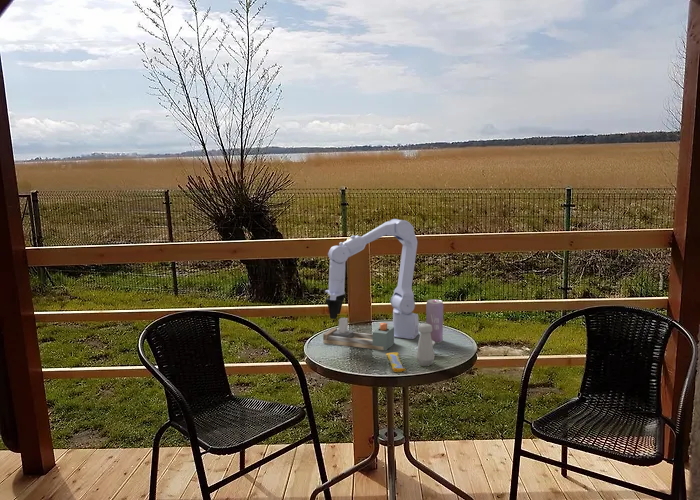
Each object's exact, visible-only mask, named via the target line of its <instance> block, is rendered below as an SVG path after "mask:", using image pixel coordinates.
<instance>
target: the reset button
mask: <svg viewBox="0 0 700 500" xmlns="http://www.w3.org/2000/svg"><path fill="white" fill-rule="evenodd" d="M387 326H388V323H387V322H380V323H379V327H380V331H387Z"/></svg>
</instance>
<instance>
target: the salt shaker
mask: <svg viewBox="0 0 700 500" xmlns="http://www.w3.org/2000/svg"><path fill="white" fill-rule="evenodd" d="M430 332H432V326H431V325H430V324H426V323H421V324H420V323H419V338H418V341H419V343H418V342H417V343H418V344H417V349H416V355H415V357H416V360H417V362H418V365H419V366H421V365H422V366H421V367H429V366H428V365H431V366H432V363H433V362H434V360H435V355H434V352H435V351H434V345H432V340H431V334H430Z"/></svg>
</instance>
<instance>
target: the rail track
mask: <svg viewBox="0 0 700 500" xmlns="http://www.w3.org/2000/svg"><path fill="white" fill-rule="evenodd" d="M337 330H338V328H336V327H333V328H331V329H329V330H328V331H327V332H324V333H323V335H322V337H323V338H322V339H323V341H322V342H323V344H328V345H338V346H346V347H353V348H354V347H355V348H363V349H371V350H378V349H379V351H384V350H383V347H381V346H377V347H376V346H373V333H364V332H355V331H354V336H353V337H352V338H348V337H339V336H333V333H334V332H335V331H337ZM373 348H374V349H373ZM380 349H381V350H380Z"/></svg>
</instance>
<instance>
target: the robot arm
mask: <svg viewBox="0 0 700 500" xmlns="http://www.w3.org/2000/svg"><path fill="white" fill-rule="evenodd" d="M414 228H415V227H414V226H413V224H412V223H410V222H409V221H408V220H404V219H398V218H392V219H390V220H388V221H385V222H383V223H382V224H380V225H378V226H377V227H375V228H374V229H373V228H372V229H371V230H370V231H368V232H367V233H365V234H363V235H362V236H360V235H354V234H353V235H351V236H350V238H349V239H347V240H345V241H343V242H342V241H340V242H339V244H338V245H333V246H331V247H330V249H329V250H328V252H327V256H328V258H329V267H328V268H329V273H328V289H326V290H324V293H326V294H328V295H329V297H328V298H325V302H326V304H327V307H328V312H329V313H328V314H329V319H333V320H336V319H337V318H338V315H340V314H341V312H342V306H343V303H344V300H345V298H346V296H347V294H346V292H345V280H346V262H347V260H348V259H349V258H350V257H352V256H354V255H356V254H358V253H360V252H361V251H363V250H364V249H365V247H366V245H367V244H369V243H372V242H374V241H376V240H378V239H381V238H382V237H384V236H389V237H391V236H393V237H395V238H396V239H397V240H398V242H399V243H401V245H402V249H401V257H400V262H399V263H400V265H399V271H398V279H397V286H396V287H395V288H394V290H393V294H392V296H391V298H390V306H392V308H393V309H392V327H394V338H402V339H409V340H414V339H415V338H416V337H418V335H420V332H419V325H420V323H419V321H420V320H419V314H418V313H414V310H415V308H416V302H415V299H414V298H415V295H414V292H413V289H412V287H413V281H414V280H413V278H414V272H415V263H416V257H417V250H418V239H417V236H416V234H415V230H414Z"/></svg>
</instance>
